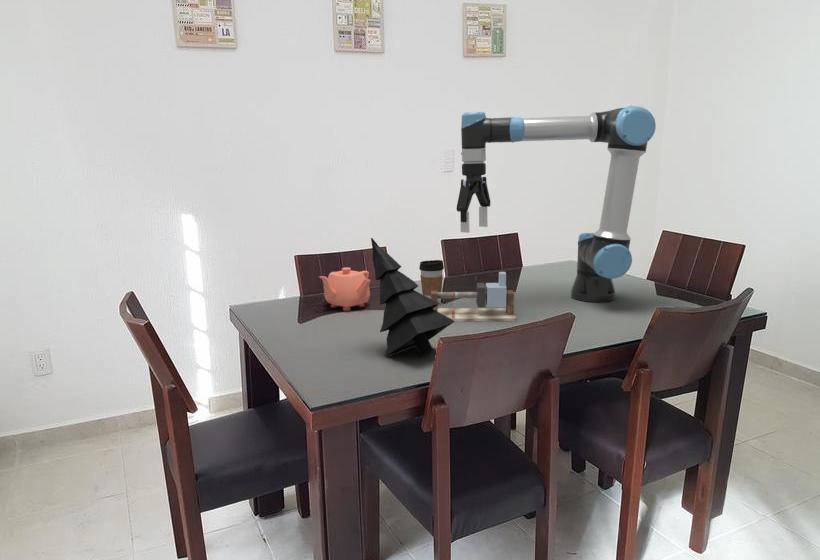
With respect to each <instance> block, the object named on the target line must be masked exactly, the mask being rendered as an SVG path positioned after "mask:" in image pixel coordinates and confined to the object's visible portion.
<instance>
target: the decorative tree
mask: <svg viewBox="0 0 820 560" xmlns="http://www.w3.org/2000/svg"><path fill="white" fill-rule="evenodd" d="M370 240H371V248H372V262H373V266H374V276H375V281H379V305H384V304H385V307H384V311H383V318H382V324H381V328H380V331H379V333H382V332H386V331H388V333H387V336H386V351H385V355H384V357H388V356H392V355H396V354H398V353H401V352H403V351H406V350H408V349H412V348H415V347H416V349H417V351H418V354H419V355H420V357H424V356H426V355H428V354H430V353H431V352H434V349H433V346H432V345H431V343H430V340H431V339H433V338H434V337H436V336H437V335H438V334H440V333H441V332H442V331H443V330H445V329H446V328H447V327H449V326H450V325H453V323H455V321H453V320H452V319H450V318H448V317H446V316H445V315H443V314H441V313H439V312H437V311H436V310H434V309H433V308H434V307H436V306H437V305H438V304H440V305H441V302H440V303H438V302H436V301H434V300H432V299H430V298H428V297H426V296H424V295H423V294H422V293H420V292H418V291H416V289H417V288H419V284H418V283H416V282H415V281H414V280H413V279H412V278H410V277H408V276H407V275H406V274H404V273H402V271H399V270H400V269H401V268H402V266H401V264H400V263H398V261H396V259H394V258H393V257H392V256H391V255H390V254H389V253H388V252H386V251H385V250H384V249H383V248H382V247H381V246H379V245H378V243H377V241H375V240H374V238H373V237H371V238H370ZM438 306H439V305H438Z"/></svg>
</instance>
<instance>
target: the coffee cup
mask: <svg viewBox="0 0 820 560" xmlns="http://www.w3.org/2000/svg"><path fill="white" fill-rule="evenodd" d="M418 268H419V270H420V283H421V284H420V285H421V294H422V295H424V296H426V297H428V298H430V299H431V291H437V292H442V289H443V288H442V287H443V277H444V274H443V270H444V269H445V266H444V260H442V259H436V260H435V259H433V260H422V261H420V263H419V267H418ZM441 300H442V298H438V303H440V304H438V306H439V305H441Z"/></svg>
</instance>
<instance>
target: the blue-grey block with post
mask: <svg viewBox="0 0 820 560" xmlns="http://www.w3.org/2000/svg"><path fill="white" fill-rule="evenodd" d="M485 287H486V292H487V298H485V307H486V308H506V290H508V289H507V273H506V271H499V272H498V282H485Z"/></svg>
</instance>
